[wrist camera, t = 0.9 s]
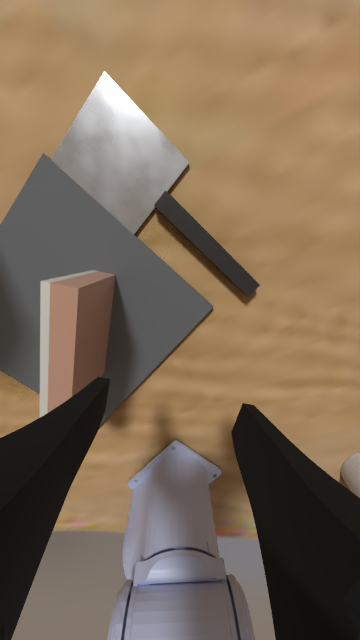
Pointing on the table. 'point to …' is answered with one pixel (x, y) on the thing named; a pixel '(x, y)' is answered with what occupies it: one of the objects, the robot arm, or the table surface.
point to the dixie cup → (352, 473)
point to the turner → (134, 171)
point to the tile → (73, 334)
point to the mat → (80, 256)
